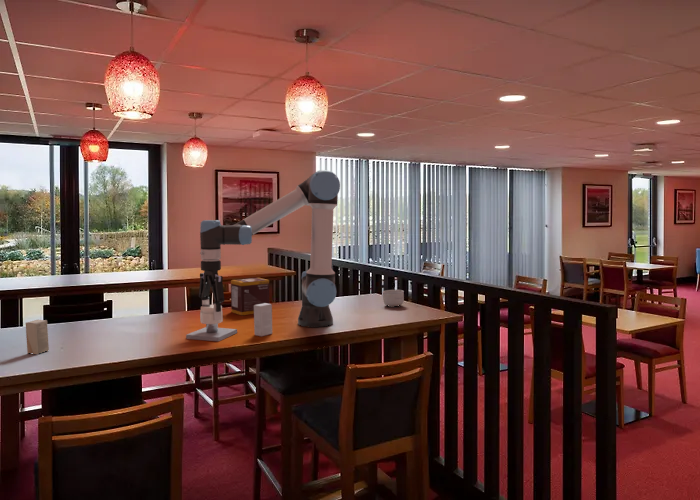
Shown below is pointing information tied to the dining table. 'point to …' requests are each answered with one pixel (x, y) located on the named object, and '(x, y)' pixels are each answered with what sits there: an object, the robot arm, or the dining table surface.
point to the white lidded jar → (209, 315)
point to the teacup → (393, 297)
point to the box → (37, 336)
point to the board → (211, 334)
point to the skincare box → (263, 319)
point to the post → (211, 328)
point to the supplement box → (248, 294)
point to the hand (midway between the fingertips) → (211, 317)
